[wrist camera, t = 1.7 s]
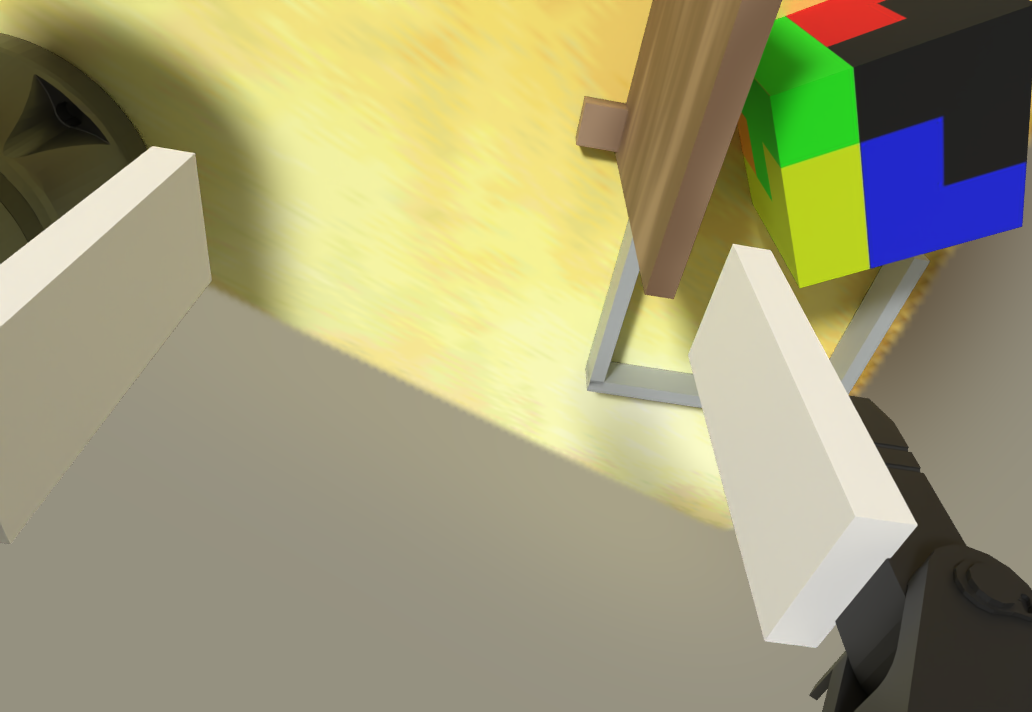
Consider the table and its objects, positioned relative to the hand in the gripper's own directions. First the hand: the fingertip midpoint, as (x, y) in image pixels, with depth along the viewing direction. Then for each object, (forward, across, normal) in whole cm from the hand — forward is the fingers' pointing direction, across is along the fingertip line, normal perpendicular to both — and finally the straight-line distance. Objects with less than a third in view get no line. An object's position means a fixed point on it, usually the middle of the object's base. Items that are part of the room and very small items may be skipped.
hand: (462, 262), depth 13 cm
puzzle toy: (+28, -18, +2) cm, 33 cm away
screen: (+28, -8, 0) cm, 29 cm away
